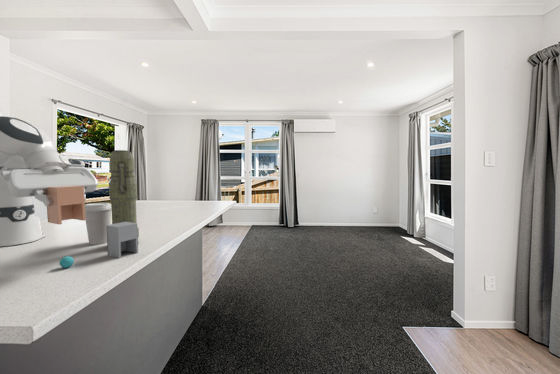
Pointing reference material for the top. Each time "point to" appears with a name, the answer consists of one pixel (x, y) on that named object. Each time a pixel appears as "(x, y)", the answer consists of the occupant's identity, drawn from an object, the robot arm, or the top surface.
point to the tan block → (66, 203)
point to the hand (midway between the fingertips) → (67, 202)
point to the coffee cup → (97, 222)
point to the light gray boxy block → (122, 238)
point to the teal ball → (66, 262)
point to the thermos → (122, 187)
